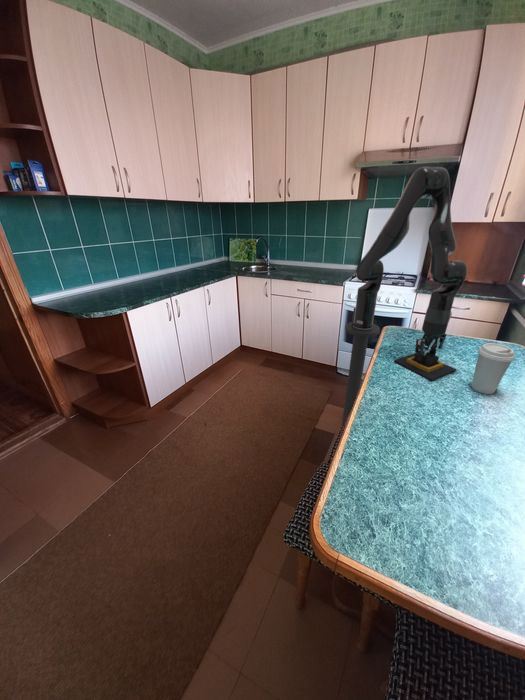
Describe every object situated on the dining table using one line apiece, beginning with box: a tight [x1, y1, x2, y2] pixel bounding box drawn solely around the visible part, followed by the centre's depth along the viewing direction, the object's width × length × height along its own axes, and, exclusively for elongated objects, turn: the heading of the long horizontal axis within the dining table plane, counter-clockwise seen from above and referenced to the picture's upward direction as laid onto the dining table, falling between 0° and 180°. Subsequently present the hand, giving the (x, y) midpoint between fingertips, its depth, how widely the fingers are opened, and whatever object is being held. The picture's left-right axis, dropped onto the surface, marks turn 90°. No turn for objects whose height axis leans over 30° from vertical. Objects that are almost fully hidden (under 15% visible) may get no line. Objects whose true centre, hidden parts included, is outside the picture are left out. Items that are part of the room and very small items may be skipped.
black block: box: [414, 350, 440, 367], centre depth 109 cm, size 6×6×3 cm
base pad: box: [393, 352, 457, 382], centre depth 110 cm, size 16×14×2 cm
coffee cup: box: [470, 342, 516, 395], centre depth 94 cm, size 10×10×15 cm
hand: (425, 361), depth 110 cm, fingers closed on black block, 5 cm apart
